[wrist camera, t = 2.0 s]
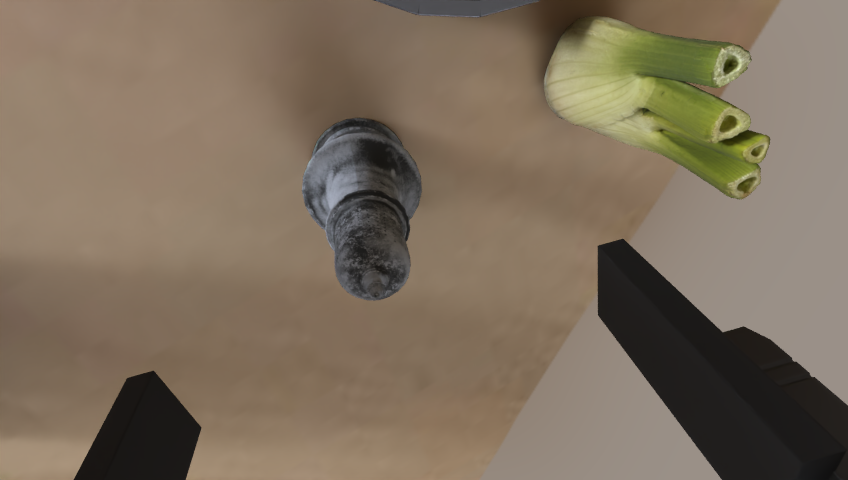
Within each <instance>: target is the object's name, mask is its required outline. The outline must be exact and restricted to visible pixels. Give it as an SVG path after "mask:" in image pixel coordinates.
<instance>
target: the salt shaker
mask: <svg viewBox="0 0 848 480" xmlns="http://www.w3.org/2000/svg"><path fill="white" fill-rule="evenodd" d="M421 192H422V187H421V176H420V173H419V171H418V168H417V165H416V163H415V161H414V160H413V158H412V157H411V156H410V154H409V153H408V152H407V150H405V149H404V148H403V146H402V143H401V142H400V140H399V139H398V137H397V136H396V135H395V133H394V132H392V131H391V130H390V129H389V128H387V127H386V126H385V125H383V124H381V123H379V122H376V121H374V120H370V119H363V118H355V119H347V120H344V121H341V122H339V123H336V124H334V125H333V126H332V127H330V128H329V129H327V130H326V131H325V132H324V133H323V134H322V136H321V137H320V138H319V140H318V141H317V143H316V146H315V148H314V151H313V155H312V159H311V160H310V161H309V163H308V165H307V168H306V171H305V173H304V176H303V187H302V193H303V197H304V202H305V206H306V208H307V210H308V211H309V213H310V215H311V217H312V218H313V219H314V220H315V221H316V223H317V224H318V225H319V226H320V227H321V228H322V229H324V230H325V231H326V236H327V240H328V242H329V244H330V246H331V248H332V249H333V250H334V251H335V271H336V276H337V278H338V280H339V282H340V284H341V286H342V287H343V288H344V289H345V290H346V291H347V292H348V293H350V294H351V295H353V296H355V297H357V298H361V299H364V300H373V301H374V300H381V299H384V298H387V297H390V296H391V295H393V294H394V293H396V292H397V291H399V290H400V289H401V287H402V286H403V285H404V284H405V282H406V280H407V279H408V276H409V272H410V256H409V252H408V248H407V244H406V241H407V239H408V237H409V232H410V222H409V220H410V219H411V218H412V216H413V214H414V213H415V211H416V209H417V207H418V205H419V201H420V197H421Z"/></svg>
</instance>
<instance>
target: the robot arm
mask: <svg viewBox="0 0 848 480" xmlns="http://www.w3.org/2000/svg"><path fill="white" fill-rule="evenodd" d="M598 316H599V317H600V318H601V320H602V321H603V322H604V324H605V325H606V326H607V327H608V329H609V330H610V331H611V333H612V334H613V335H614V337H615V338H616V340H617V341H618V342H619V343H620V345H621V346H622V348H623V349H624V350H625V351H626V353H627V354H628V356H629V357H630V358H631V360H632V361H633V362H634V363H635V365H636V366H637V367H638V369H639V370H640V371H641V373H642V374H643V375H644V377H645V378H646V379H647V381H648V382H649V383H650V385H651V386H652V387H653V389H654V390H655V391H656V393H657V394H658V395H659V397H660V398H661V399H662V401H663V402H664V403H665V405H666V406H667V407H668V409H669V410H670V411H671V413H672V414H673V415H674V417H675V418H676V419H677V421H678V422H679V423H680V425H681V426H682V427H683V429H684V430H685V431H686V433H687V434H688V435H689V437H691V439H692V441H693V442H694V443H695V444H696V446H697V447H698V449H699V450H700V451H701V453H702V454H703V455H704V457H706V459H707V461H708V462H709V463H710V464H711V466H712V467H713V468H714V470H715V471H716V472H717V474H718V475H719V476H720V478H721V479H722V480H848V405H846V404H845V403H844V402H843V401H842V400H841V399H839V398H838V397H837V396H836V395H834V393H832V392H831V391H830V390H829V389H828V388H826V387H825V386H824V385H823V384H822V383H821V382H820V381H818V380H817V379H816V378H815V377H811V376H810V373H809V372H808V371H807V370H805V369H804V368H803V367H802V366H801V365H800V364H798V363H797V362H794V361H793V360H792V358H791V357H790V356H789V355H788V354H787V353H785V352H784V351H783V350H782V349H780V347H778V346H777V345H776V344H775V343H774V342H772V341H771V340H770V339H768V338H766V337H764V336H762V335H760V334H758V333H756V332H754V331H752V330H750V329H748V328H746V327H740V328H737V329H734V330H730V331H726V332H722V331H721V330H720V329H718V328H717V327H716V326H715V325H714V324H713V323H712V322H711V321H710V320H709V319H708V318H707V317H706V316H705V315H704V314H702V313H701V312H700V311H699V310H698V309H697V308H696V307H695V306H694V305H693V304H692V303H691V302H690V301H689V300H688V299H687V298H685V297H684V296H683V295H682V294H681V293H680V292H679V291H678V290H677V289H676V288H675V287H674V286H673V285H672V284H671V283H670V282H668V281H667V280H666V279H665V278H664V277H663V276H662V275H661V274H660V273H659V272H658V271H657V270H656V269H655V268H654V267H653V266H652V265H650V264H649V263H648V262H647V261H646V260H645V259H644V258H643V257H642V256H641V255H640V254H639V253H638V252H637V251H636V250H634V249H633V248H632V247H631V246H630V245H629V244H628V243H627V242H626V241H625V240H624V239H620V240H617V241H613V242H610V243H606V244H603V245H599V246H598ZM200 431H201V427H200V425H199V424H198V423H197V422H196V421H195V419H194V418H193V417H192V416H191V415H190V413H189V412H188V411H187V410H186V409H185V407H184V406H183V405H182V404H181V403H180V401H179V400H178V399H177V398H176V397H175V395H174V394H173V393H172V392H171V391H170V389H169V388H168V387H167V386H166V385H165V383H164V382H163V381H162V380H161V379H160V378H159V376H158V375H157V374H156V373H155V372H154V371H151V372H147V373H143V374H140V375H136V376H133V377H129V378H127V379H126V381H125V383H124V385H123V387H122V389H121V391H120V393H119V395H118V397H117V398H116V400H115V402H114V404H113V406H112V408H111V410H110V412H109V414H108V416H107V417H106V419H105V421H104V423H103V425H102V427H101V429H100V431H99V433H98V435H97V436H96V438H95V440H94V442H93V444H92V446H91V448H90V450H89V452H88V454H87V455H86V457H85V459H84V461H83V463H82V465H81V467H80V469H79V471H78V473H77V474H76V476H75V478H74V480H186V477H187V473H188V470H189V467H190V464H191V460H192V457H193V454H194V450H195V447H196V444H197V441H198V437H199V434H200Z"/></svg>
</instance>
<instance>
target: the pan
mask: <svg viewBox="0 0 848 480" xmlns="http://www.w3.org/2000/svg"><path fill="white" fill-rule="evenodd" d="M374 1H377V2H380V3H383V4H386V5H389V6H392V7H395V8H398V9H401V10H404V11H407V12H410V13H412V14H415V15H422V16H452V17H483V16H487V15H490V14H494V13H498V12H501V11H505V10H509V9H513V8H516V7H520V6H524V5H527V4H531V3H535V2H538V1H539V0H374Z"/></svg>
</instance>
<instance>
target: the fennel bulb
mask: <svg viewBox="0 0 848 480" xmlns="http://www.w3.org/2000/svg"><path fill="white" fill-rule="evenodd" d="M751 60H752V59H751V56H750V53H749V51H747V50H744V49H743V47H741V46H740V45H735V44H732V43H729V42H717V41H707V40H698V39H688V38H682V37H675V36H669V35H664V34H659V33H654V32H649V31H646V30H642V29H640V28H636V27H634V26H632V25H631V24H628V23H626V22H622V21H620V20H616V19H614V18H610V17H603V16H589V17H584V18H579V19H578V20H576V21H575V22H574V23H573V24H572V25H570V26H569V27H568V28H567V29H566V30H565V32H564V33H563V34H562V36H561V37H560V39H559V42H558V44H557V46H556V49H555V51H554V53H553V55H552V56H551V59H550V62H549V65H548V67H547V70H546V73H545V77H544V93H545V97H546V100H547V103H548V105H549V107H550V108H551V110H552V111H553V112H554V113H555V114H556V115H557V116H558V117H559V118H561V119H565V120H566V121H568V122H570V123H571V124H573V125H577V126H583V127H586V128H588V129H590V130H592V131H595V132H597V133H599V134H602V135H604V136H608V137H610V138H612V139H615V140H617V141H620V142H622V143H625V144H628V145H630V146H633V147H636V148H641V149H644V150H648V151H651V152H655V153H658V154H661V155H663V156H665V157H667V158H669V159H671V160H673V161H674V162H676V163H678V164H680V165H681V166H683V167H685V168H686V169H688V170H690V171H691V172H692V173H694V174H696V175H697V176H699V177H700V178H702V179H703V180H704V181H706V182H708V183H709V184H711V185H712V186H714V187H715V188H717V189H718V190H720V191H721V192H722V193H724V194H726V195H727V196H729V197H731V198H736V199H743V198H745V197H747V196H748V195H749V194H750V193H752V192H753V191H754V190H755V189H756V186H758V185H759V184H760V181H761V177H760V172H761V171H760V169H761V168H760V167H759V165H758V164H757V163H760V162H761V161H762V160H763V159H764V158H765V156H766V153H767V150H768V148H769V144H770V137H768V136H767V135H763V134H759V133H756V132H753V131H749V130H748V128H749V127H750V123H751V119H750V116H749V115H748V114H747V113H745V112H744V111H743V110H741V109H739V108H737V107H736V106H734V105H732V104H730V103H728V102H726V101H724V100H722V99H720V98H718V97H716V96H714V95H712V94H710V93H707V92H705V91H703V90H701V89H699V88H697V87H695V86H693V85H690V84H688V83H686V82H689V83H696V84H701V85H705V86H709V87H713V88H720V87H722V86H724V85H726V84H727V83H729V82H731V81H733V80H734V79H736V78H738V77H739V76H740V75H741V74H742V73H743V72H744V71H746V70H747V66H748V64H749V63H750V62H751Z"/></svg>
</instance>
